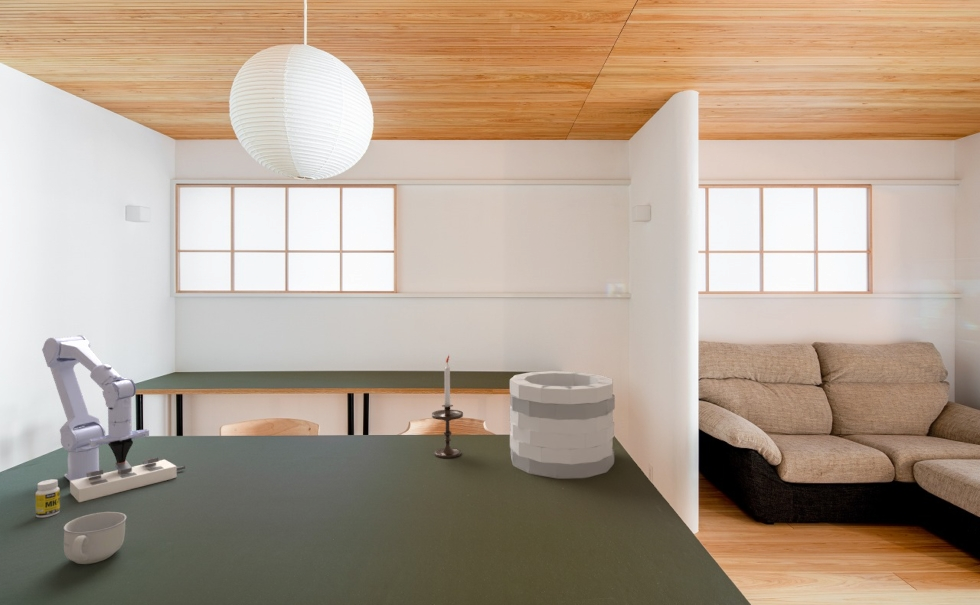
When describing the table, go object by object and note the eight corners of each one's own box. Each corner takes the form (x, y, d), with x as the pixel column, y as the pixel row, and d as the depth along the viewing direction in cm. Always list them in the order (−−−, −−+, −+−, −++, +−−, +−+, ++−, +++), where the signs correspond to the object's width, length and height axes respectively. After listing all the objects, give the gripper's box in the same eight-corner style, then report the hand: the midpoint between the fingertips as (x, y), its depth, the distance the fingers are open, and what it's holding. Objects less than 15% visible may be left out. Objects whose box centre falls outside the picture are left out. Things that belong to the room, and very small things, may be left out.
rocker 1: (86, 477, 148) (86, 472, 149) (98, 474, 151) (98, 470, 151) (91, 476, 145) (90, 472, 146) (103, 474, 147) (102, 469, 148)
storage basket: (506, 445, 190) (505, 371, 190) (599, 443, 192) (599, 370, 191) (514, 480, 155) (514, 390, 155) (628, 478, 157) (628, 388, 156)
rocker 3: (142, 464, 159) (142, 460, 159) (153, 462, 161) (152, 458, 162) (148, 463, 156) (147, 459, 156) (158, 461, 158) (158, 457, 158)
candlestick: (469, 452, 182) (468, 353, 181) (450, 461, 173) (450, 357, 172) (444, 447, 188) (444, 351, 187) (425, 455, 178) (425, 355, 178)
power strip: (70, 493, 147) (69, 478, 146) (178, 466, 168) (178, 454, 168) (79, 502, 140) (78, 487, 140) (190, 473, 162) (190, 460, 162)
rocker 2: (115, 466, 154) (115, 462, 154) (126, 464, 156) (126, 460, 156) (120, 474, 151) (120, 470, 151) (131, 471, 153) (131, 467, 153)
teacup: (87, 545, 116) (86, 510, 116) (137, 543, 117) (137, 508, 117) (38, 580, 103) (37, 540, 102) (96, 577, 103) (95, 538, 103)
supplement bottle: (45, 519, 130) (45, 486, 130) (30, 517, 131) (30, 484, 131) (64, 510, 135) (64, 479, 135) (50, 509, 136) (49, 477, 135)
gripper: (93, 427, 147) (94, 474, 147) (152, 418, 158) (152, 461, 158) (87, 423, 151) (88, 468, 152) (144, 414, 162) (145, 456, 163)
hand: (120, 464), depth 155 cm, fingers closed, pressing on rocker 2
